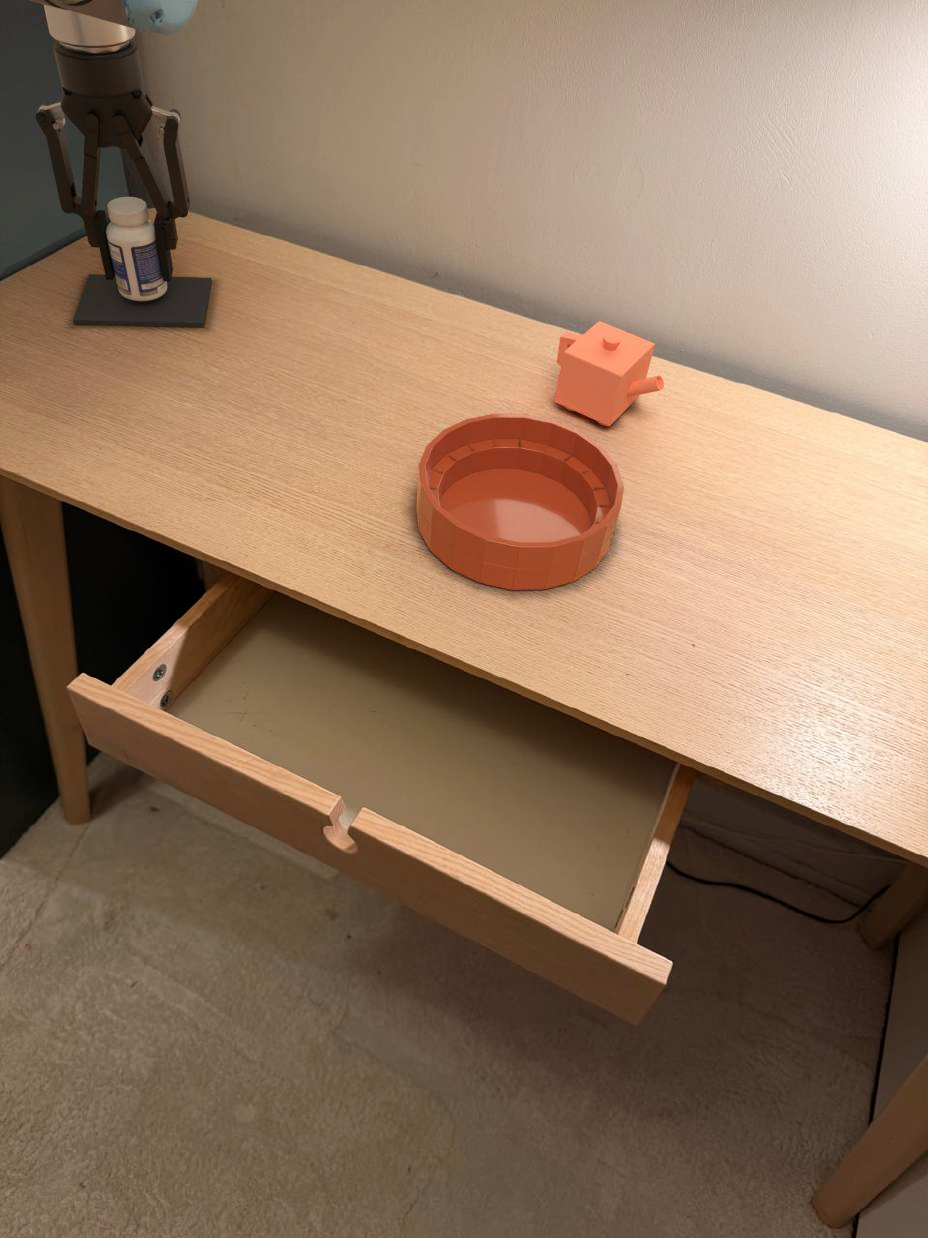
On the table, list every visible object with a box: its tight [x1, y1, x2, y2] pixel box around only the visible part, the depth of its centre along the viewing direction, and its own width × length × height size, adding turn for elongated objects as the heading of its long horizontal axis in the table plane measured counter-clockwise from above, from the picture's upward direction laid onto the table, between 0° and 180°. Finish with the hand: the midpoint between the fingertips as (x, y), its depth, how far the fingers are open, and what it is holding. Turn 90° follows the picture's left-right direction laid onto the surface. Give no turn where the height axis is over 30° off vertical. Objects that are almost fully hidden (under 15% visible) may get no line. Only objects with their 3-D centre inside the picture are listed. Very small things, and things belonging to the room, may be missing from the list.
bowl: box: [415, 413, 625, 591], centre depth 83 cm, size 18×18×6 cm
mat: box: [72, 273, 213, 328], centre depth 104 cm, size 14×10×1 cm
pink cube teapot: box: [553, 320, 665, 427], centre depth 95 cm, size 8×12×8 cm, turn 56°
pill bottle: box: [106, 196, 167, 301], centre depth 100 cm, size 5×5×10 cm
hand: (140, 274), depth 102 cm, fingers closed on pill bottle, 5 cm apart
